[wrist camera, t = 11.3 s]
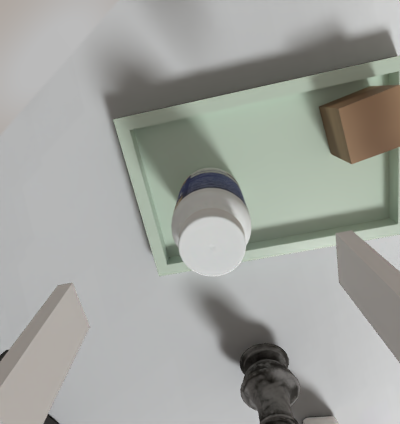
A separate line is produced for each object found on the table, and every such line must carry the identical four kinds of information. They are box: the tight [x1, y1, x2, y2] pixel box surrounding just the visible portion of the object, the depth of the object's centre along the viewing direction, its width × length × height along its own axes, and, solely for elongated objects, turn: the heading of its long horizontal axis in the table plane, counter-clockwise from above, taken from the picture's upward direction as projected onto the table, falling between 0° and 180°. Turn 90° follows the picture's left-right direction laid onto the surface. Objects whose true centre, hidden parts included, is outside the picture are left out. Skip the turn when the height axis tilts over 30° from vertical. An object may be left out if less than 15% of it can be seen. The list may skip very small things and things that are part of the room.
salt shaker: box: [240, 344, 300, 424], centre depth 29 cm, size 6×6×12 cm
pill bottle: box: [171, 168, 251, 276], centre depth 23 cm, size 5×5×10 cm
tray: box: [113, 56, 400, 276], centre depth 26 cm, size 22×14×2 cm, turn 102°
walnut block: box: [319, 85, 400, 164], centre depth 23 cm, size 4×4×4 cm
